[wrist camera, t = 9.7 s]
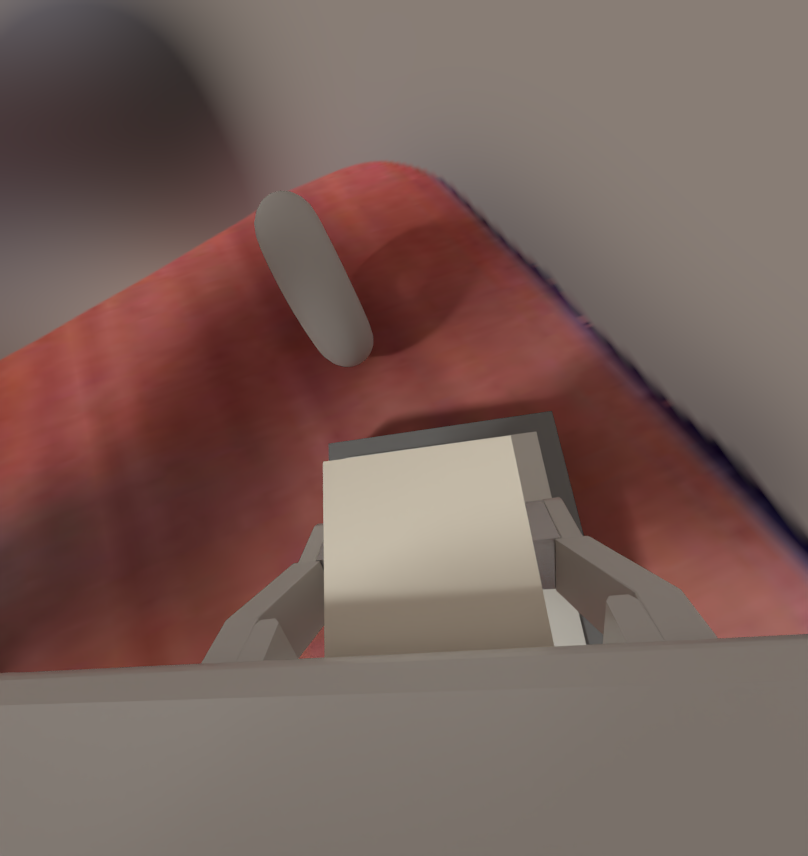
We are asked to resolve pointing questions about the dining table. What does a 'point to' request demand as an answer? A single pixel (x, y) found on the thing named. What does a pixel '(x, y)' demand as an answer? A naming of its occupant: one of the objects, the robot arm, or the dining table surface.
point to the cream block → (430, 553)
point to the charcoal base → (537, 475)
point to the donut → (312, 278)
